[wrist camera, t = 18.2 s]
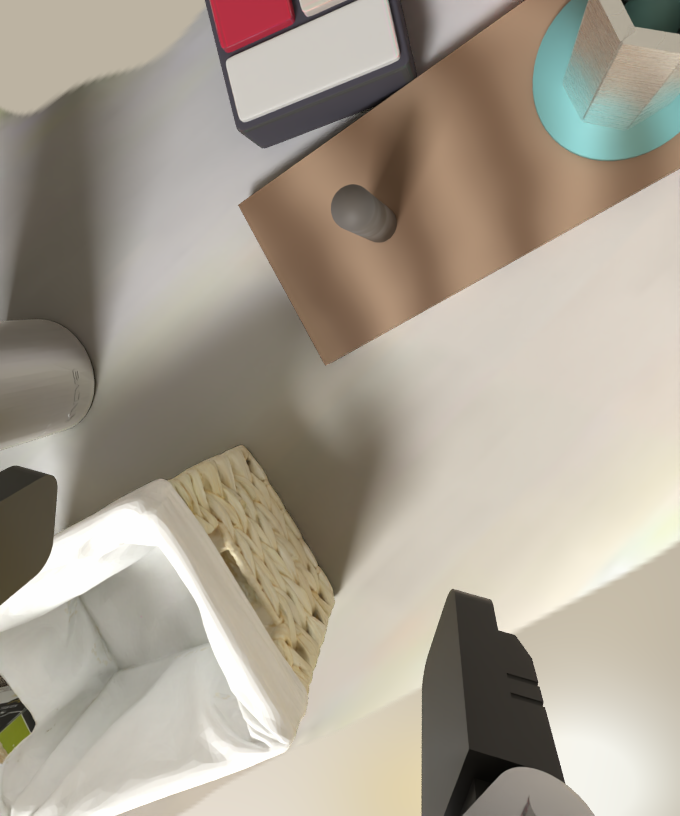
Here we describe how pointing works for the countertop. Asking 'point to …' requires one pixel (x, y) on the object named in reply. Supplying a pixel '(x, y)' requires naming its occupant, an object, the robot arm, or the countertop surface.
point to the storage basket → (162, 644)
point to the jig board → (454, 178)
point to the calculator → (308, 61)
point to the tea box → (13, 719)
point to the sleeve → (620, 68)
